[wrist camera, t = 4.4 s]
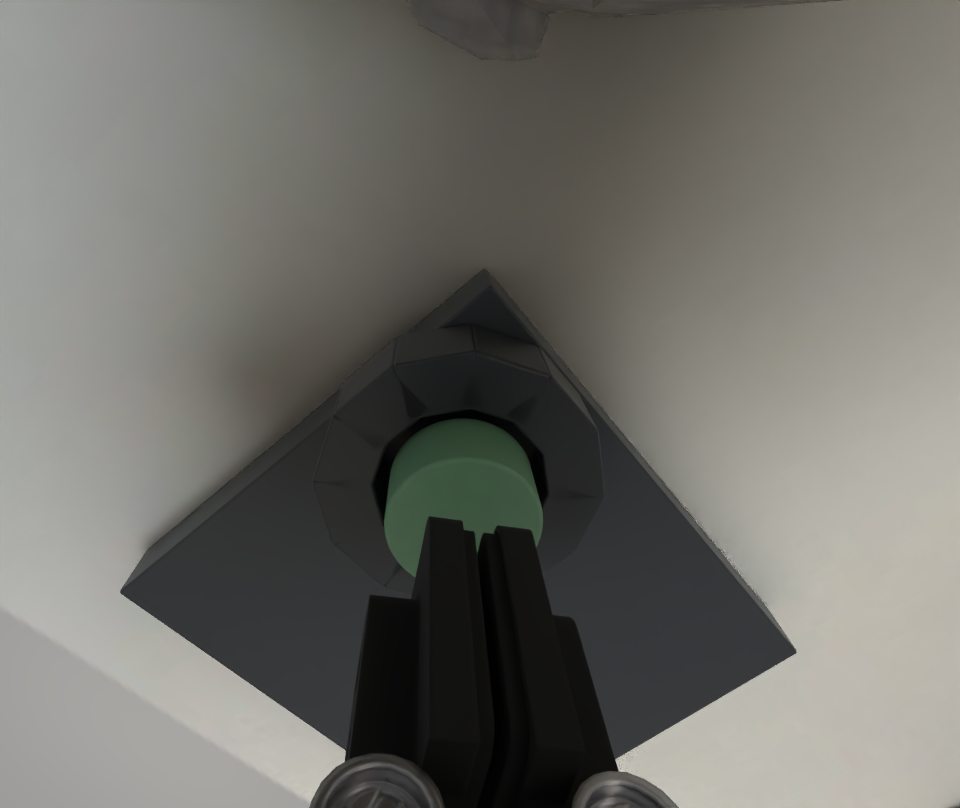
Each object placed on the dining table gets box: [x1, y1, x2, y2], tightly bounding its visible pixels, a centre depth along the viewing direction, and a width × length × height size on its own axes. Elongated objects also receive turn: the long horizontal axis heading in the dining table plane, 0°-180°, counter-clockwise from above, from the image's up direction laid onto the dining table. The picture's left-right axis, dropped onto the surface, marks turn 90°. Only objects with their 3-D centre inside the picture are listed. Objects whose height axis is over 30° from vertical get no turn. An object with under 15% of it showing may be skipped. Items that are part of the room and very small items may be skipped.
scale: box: [120, 269, 796, 759], centre depth 17 cm, size 14×12×4 cm
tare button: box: [384, 418, 543, 577], centre depth 13 cm, size 3×3×2 cm
